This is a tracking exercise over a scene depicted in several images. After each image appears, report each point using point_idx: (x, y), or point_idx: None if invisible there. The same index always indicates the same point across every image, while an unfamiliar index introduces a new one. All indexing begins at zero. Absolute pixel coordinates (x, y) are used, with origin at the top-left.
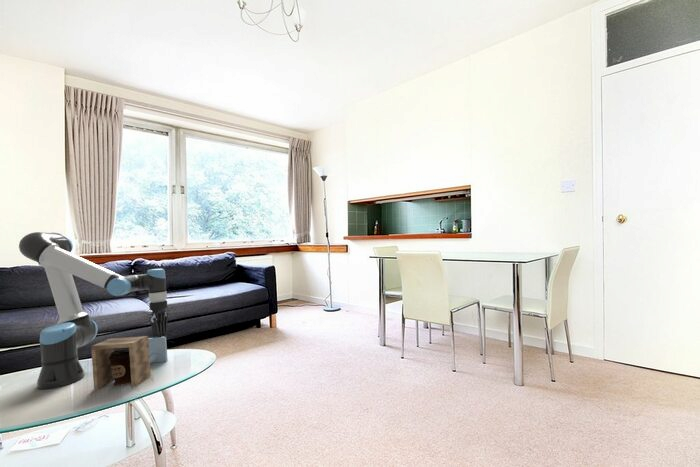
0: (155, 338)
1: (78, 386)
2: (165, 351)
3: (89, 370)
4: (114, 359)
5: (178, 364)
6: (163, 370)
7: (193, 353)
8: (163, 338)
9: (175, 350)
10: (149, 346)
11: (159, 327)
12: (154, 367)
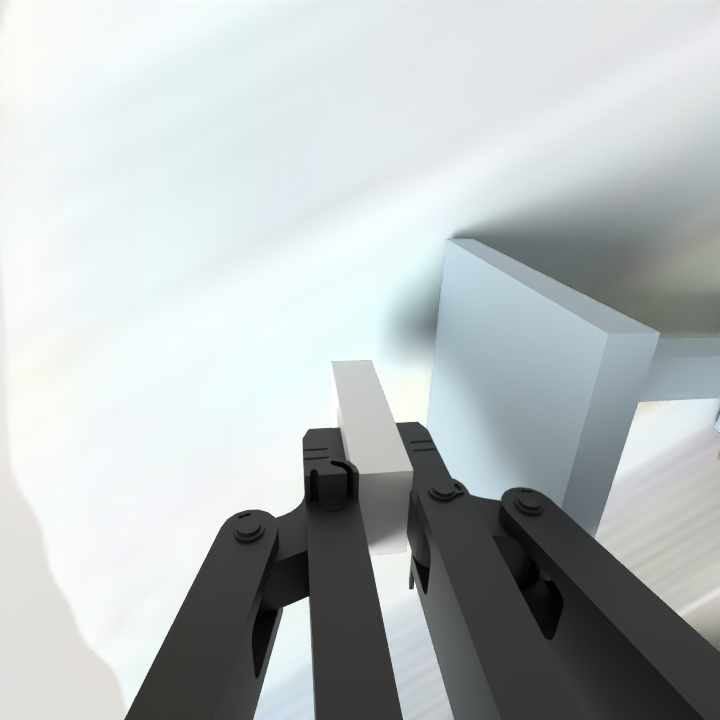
0: (609, 489)
1: (716, 576)
2: (522, 264)
3: (447, 695)
4: None
5: (596, 29)
6: (717, 131)
7: (184, 3)
8: (643, 349)
9: (36, 360)
10: None
11: (557, 678)
12: (576, 286)
